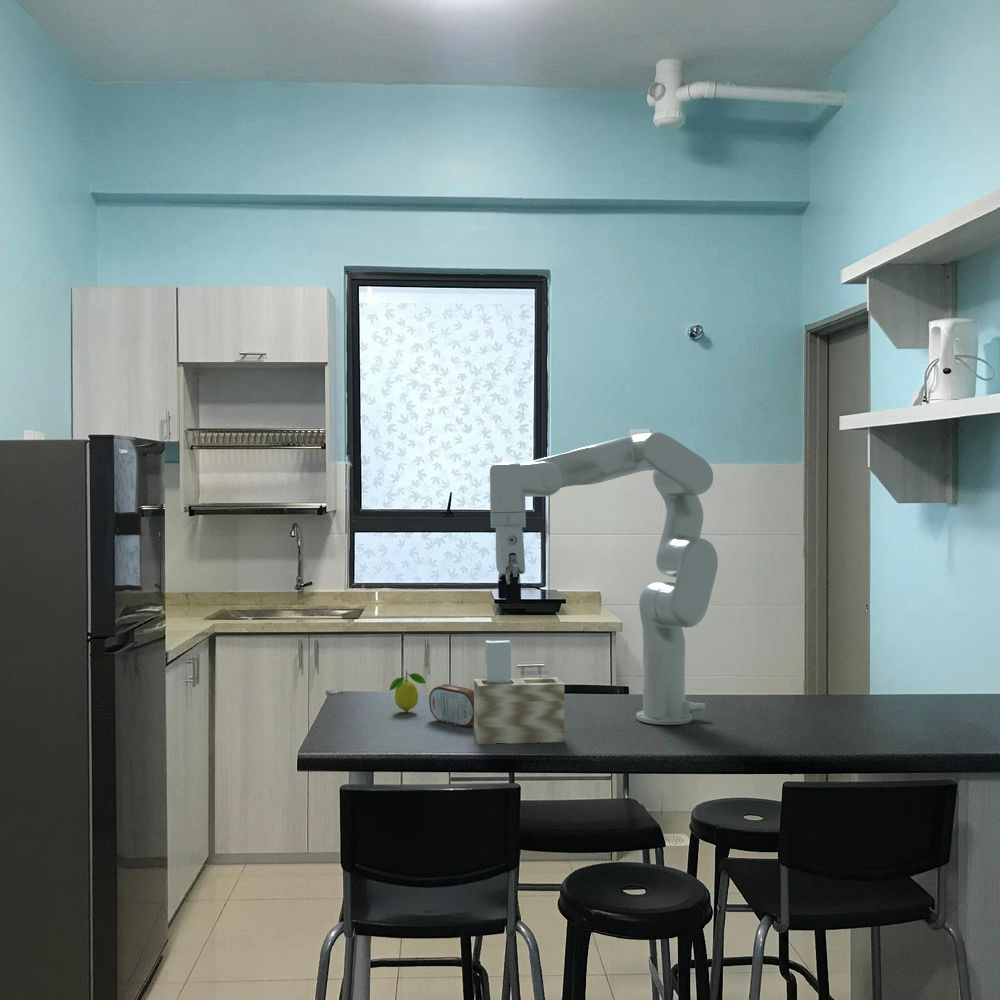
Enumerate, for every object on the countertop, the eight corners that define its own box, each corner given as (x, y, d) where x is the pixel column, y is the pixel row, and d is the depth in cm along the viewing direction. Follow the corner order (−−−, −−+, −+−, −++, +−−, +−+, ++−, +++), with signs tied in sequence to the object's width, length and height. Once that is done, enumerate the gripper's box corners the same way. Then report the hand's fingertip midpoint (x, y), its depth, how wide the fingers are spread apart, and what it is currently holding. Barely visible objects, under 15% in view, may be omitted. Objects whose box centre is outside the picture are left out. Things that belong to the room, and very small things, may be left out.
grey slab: (508, 697, 212) (508, 640, 212) (510, 699, 209) (510, 642, 209) (485, 697, 212) (485, 640, 212) (486, 700, 209) (487, 642, 209)
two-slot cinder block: (556, 733, 216) (556, 677, 216) (564, 741, 208) (564, 684, 208) (473, 735, 214) (474, 679, 214) (478, 744, 206) (478, 685, 206)
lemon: (425, 711, 239) (425, 669, 239) (412, 715, 233) (412, 672, 233) (401, 708, 242) (402, 667, 242) (388, 713, 236) (388, 670, 237)
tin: (483, 728, 221) (483, 689, 221) (473, 730, 219) (473, 691, 219) (436, 718, 231) (436, 681, 231) (426, 720, 229) (426, 683, 229)
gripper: (533, 521, 206) (534, 604, 206) (518, 519, 223) (519, 596, 223) (496, 522, 205) (498, 605, 205) (485, 520, 222) (486, 597, 222)
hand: (509, 600), depth 214 cm, fingers open, 9 cm apart
